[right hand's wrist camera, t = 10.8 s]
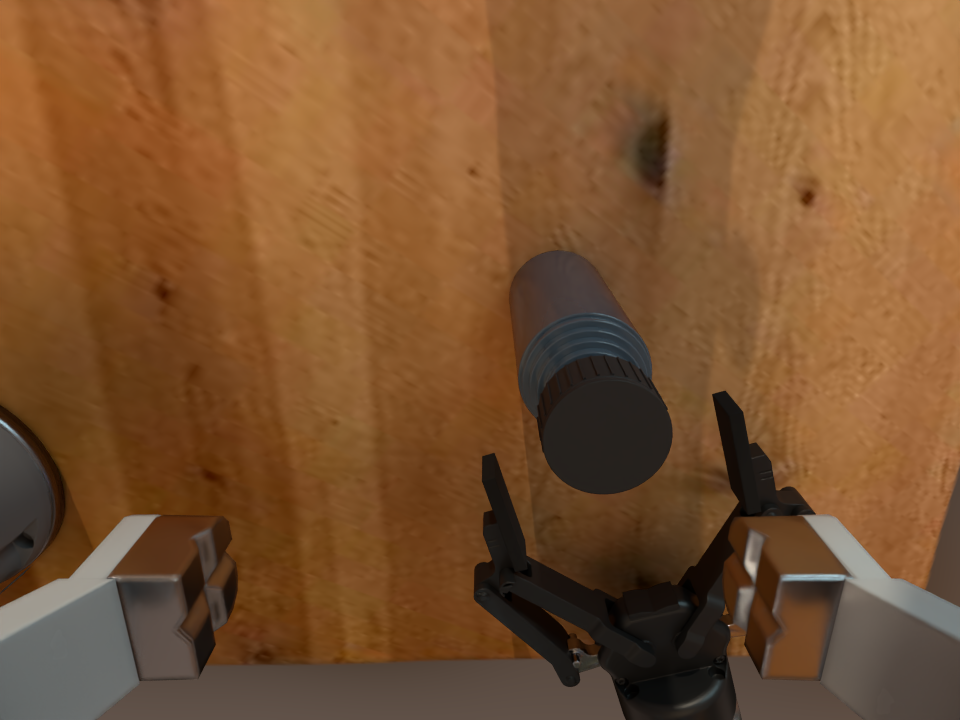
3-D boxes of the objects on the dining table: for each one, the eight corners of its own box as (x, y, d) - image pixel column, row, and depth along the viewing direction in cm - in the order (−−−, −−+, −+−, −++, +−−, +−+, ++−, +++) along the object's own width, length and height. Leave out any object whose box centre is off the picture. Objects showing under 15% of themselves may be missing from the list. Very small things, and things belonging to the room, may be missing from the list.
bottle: (623, 302, 39) (718, 442, 23) (549, 359, 41) (589, 529, 25) (564, 230, 38) (623, 325, 22) (489, 292, 39) (491, 425, 23)
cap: (681, 416, 25) (700, 445, 23) (585, 483, 26) (594, 518, 24) (609, 328, 24) (622, 352, 22) (511, 403, 25) (513, 433, 23)
